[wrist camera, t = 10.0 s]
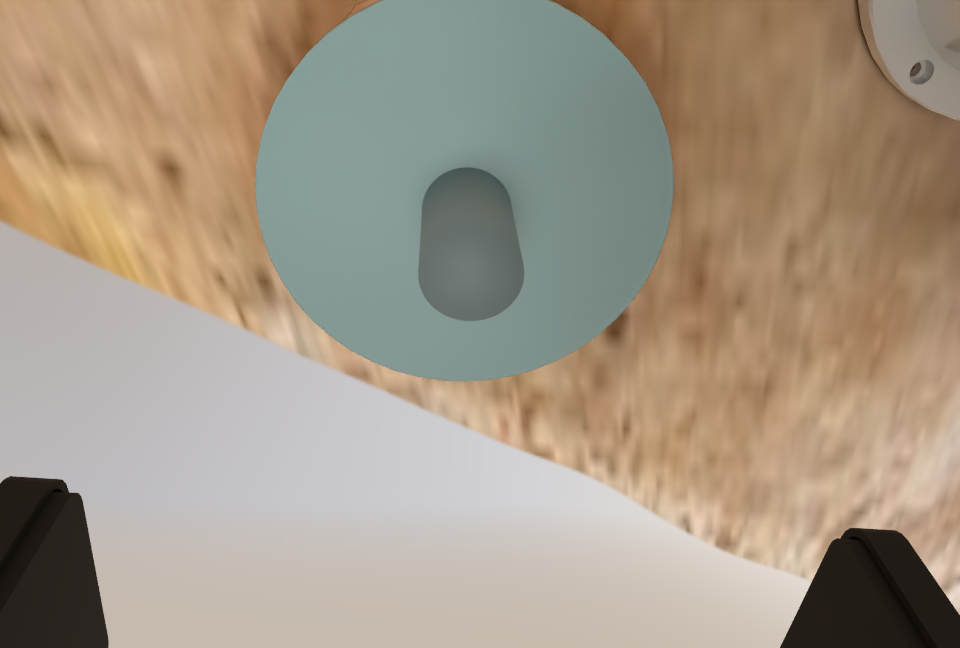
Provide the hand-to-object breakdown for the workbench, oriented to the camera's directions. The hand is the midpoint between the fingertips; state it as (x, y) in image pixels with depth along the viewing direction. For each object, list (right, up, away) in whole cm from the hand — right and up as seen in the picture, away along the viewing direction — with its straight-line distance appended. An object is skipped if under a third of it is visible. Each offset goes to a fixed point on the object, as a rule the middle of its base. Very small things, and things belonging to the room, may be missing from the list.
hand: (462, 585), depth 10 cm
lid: (0, +7, +15) cm, 17 cm away
